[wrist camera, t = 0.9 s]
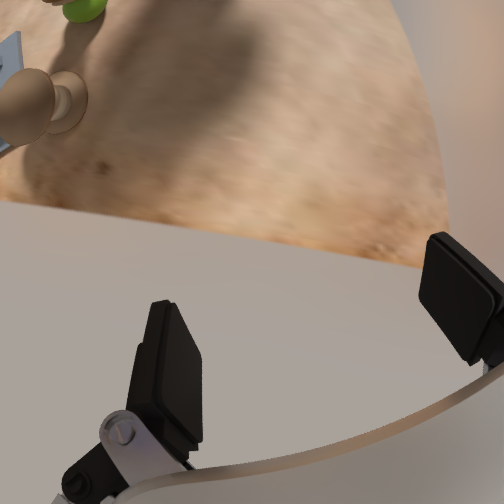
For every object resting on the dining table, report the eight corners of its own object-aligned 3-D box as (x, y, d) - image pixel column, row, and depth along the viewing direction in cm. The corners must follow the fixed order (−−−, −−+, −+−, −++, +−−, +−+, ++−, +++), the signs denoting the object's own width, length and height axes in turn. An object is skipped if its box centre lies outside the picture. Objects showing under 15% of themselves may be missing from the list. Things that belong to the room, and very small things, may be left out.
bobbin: (32, 88, 24) (-10, 91, 16) (82, 61, 24) (44, 54, 16) (44, 142, 28) (3, 157, 20) (94, 119, 28) (57, 127, 20)
